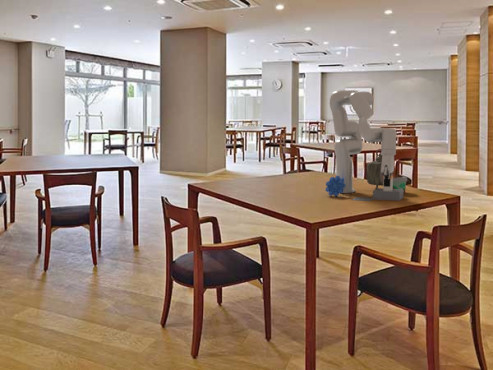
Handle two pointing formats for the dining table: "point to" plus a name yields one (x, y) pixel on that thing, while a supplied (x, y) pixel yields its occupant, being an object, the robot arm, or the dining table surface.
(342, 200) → the dining table surface
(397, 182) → the food container
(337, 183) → the blue gear
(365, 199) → the mat
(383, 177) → the plug
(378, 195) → the grey rectangular box
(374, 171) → the tabletop clock
